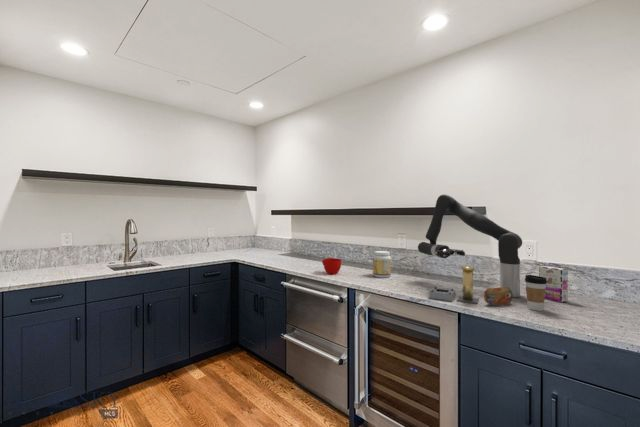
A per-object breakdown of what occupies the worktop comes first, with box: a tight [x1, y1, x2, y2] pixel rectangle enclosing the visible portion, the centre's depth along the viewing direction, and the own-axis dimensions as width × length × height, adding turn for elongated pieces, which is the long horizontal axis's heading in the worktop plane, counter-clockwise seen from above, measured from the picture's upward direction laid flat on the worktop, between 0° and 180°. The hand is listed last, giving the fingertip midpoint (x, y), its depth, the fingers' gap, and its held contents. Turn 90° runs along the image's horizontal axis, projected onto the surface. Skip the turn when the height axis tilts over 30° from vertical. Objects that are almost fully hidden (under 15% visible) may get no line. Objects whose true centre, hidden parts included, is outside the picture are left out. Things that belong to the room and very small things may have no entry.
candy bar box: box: [538, 265, 569, 303], centre depth 158 cm, size 11×5×16 cm, turn 21°
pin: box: [461, 265, 475, 300], centre depth 155 cm, size 6×6×16 cm
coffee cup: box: [524, 274, 547, 312], centre depth 142 cm, size 8×8×15 cm
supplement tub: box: [372, 250, 392, 279], centre depth 212 cm, size 12×12×17 cm
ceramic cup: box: [321, 257, 342, 275], centre depth 222 cm, size 13×17×10 cm
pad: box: [456, 295, 480, 305], centre depth 155 cm, size 9×9×1 cm
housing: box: [428, 286, 456, 302], centre depth 160 cm, size 11×11×4 cm
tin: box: [483, 286, 513, 307], centre depth 149 cm, size 15×3×8 cm, turn 105°
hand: (456, 254), depth 164 cm, fingers open, 8 cm apart
